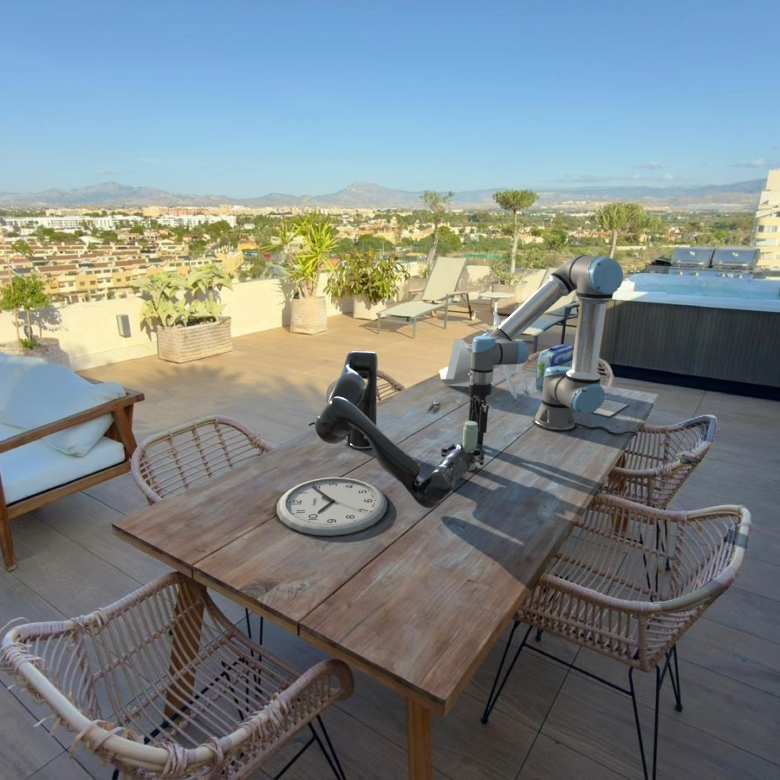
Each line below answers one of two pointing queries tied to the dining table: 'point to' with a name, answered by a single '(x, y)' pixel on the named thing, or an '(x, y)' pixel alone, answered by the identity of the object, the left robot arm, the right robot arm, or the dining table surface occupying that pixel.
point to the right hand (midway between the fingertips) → (475, 445)
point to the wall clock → (331, 506)
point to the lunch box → (553, 361)
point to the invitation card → (609, 408)
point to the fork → (434, 403)
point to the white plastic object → (462, 366)
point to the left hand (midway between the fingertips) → (471, 445)
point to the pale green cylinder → (470, 438)
